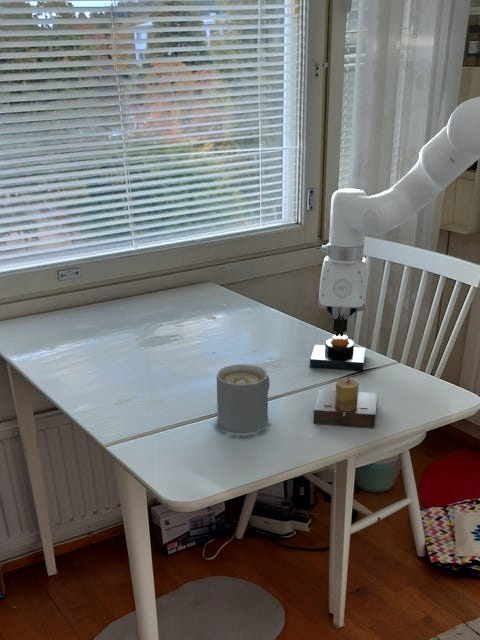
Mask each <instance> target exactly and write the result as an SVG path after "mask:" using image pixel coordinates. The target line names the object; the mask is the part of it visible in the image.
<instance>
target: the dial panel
mask: <svg viewBox="0 0 480 640" xmlns="http://www.w3.org/2000/svg"><path fill="white" fill-rule="evenodd" d="M335 391H336V389H324V388H323V389H322V388H321V389H319V390H318V393H317V397H316V401H315V405H314V408H313V420H312V423H313V424H314V425H325V426H326V425H327V426H338V427H340V426H341V427H352V428H363V429H364V428H365V429H375V427H376V417H377V409H378V401H379V399H378V397H379V393H377V392H363V391H358V400H357V408H356V409H355V410H353V411H340V410H338V409H336V408H335Z"/></svg>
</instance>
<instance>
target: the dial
mask: <svg viewBox="0 0 480 640" xmlns="http://www.w3.org/2000/svg"><path fill="white" fill-rule="evenodd" d="M346 377H347V378H340V379H337V380H336V381H335V390H336V391H335V408H336V409H338V410H340V411H353V410H355V409H356V408H357V400H358V392H359V386H360V383H359V381H358V380H356V379H353V378H351V377H350V376H346Z"/></svg>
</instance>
